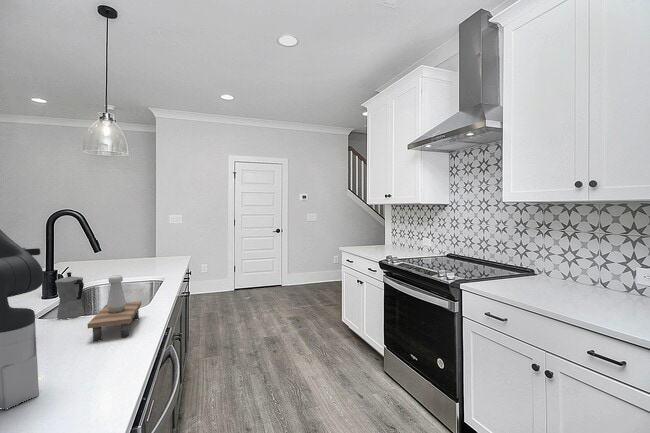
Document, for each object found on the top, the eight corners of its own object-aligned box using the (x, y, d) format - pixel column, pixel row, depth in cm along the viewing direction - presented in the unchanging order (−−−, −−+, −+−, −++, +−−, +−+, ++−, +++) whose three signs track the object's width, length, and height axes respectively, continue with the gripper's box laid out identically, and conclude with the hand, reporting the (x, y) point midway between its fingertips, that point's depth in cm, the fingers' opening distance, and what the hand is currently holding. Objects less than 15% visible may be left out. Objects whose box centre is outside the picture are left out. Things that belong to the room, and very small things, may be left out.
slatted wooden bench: (130, 337, 110) (129, 318, 110) (88, 343, 106) (87, 323, 106) (141, 316, 131) (141, 300, 131) (107, 320, 127) (106, 304, 127)
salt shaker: (116, 314, 115) (115, 277, 114) (103, 313, 116) (101, 277, 115) (129, 309, 121) (128, 274, 120) (116, 308, 122) (115, 273, 121)
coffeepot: (48, 317, 132) (46, 273, 131) (74, 310, 140) (72, 268, 140) (70, 322, 125) (68, 276, 125) (96, 315, 134) (94, 271, 133)
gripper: (-50, 247, 92) (23, 244, 99) (-21, 242, 105) (42, 239, 112) (-48, 274, 92) (25, 268, 99) (-20, 265, 105) (43, 261, 112)
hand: (34, 253), depth 105 cm, fingers open, 8 cm apart
